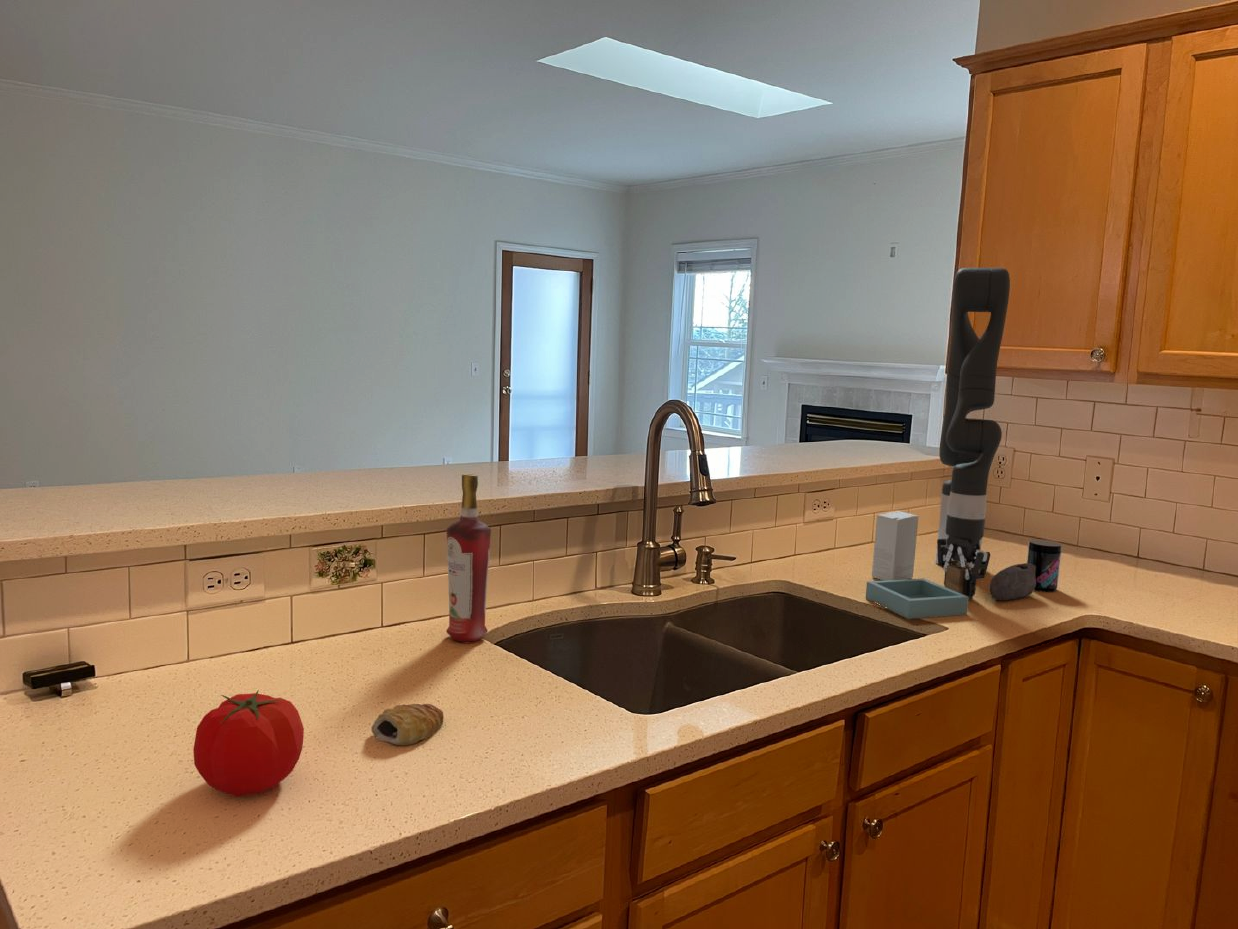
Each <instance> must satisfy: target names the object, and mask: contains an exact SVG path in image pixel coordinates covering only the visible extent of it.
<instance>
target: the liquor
mask: <svg viewBox="0 0 1238 929" xmlns="http://www.w3.org/2000/svg"><path fill="white" fill-rule="evenodd" d="M478 486H479V475H478V474H477V473H464V474H461V489H462V490H461V491H462V495H461V496H462V498H461V506H460V516H459V520H458V521H455V522H453V523H452V524H450V525H449V526H448V527H447V528H446V556H447V560H446V561H447V576H448V578H447V581H448V616H449V617H448V621H449V622H448V627H447V629H446V634H448V635H449V637H451V638H452V639H453V640H454V641H455V640H456V642H458V641H459V642H458V643H463V642H470V643H474V642H475V641H476V642H478V641H480V640H481V639H482V638H483V637H484V636H485V635H486V634H487V633H488V628H487V626H486V613H487V612H486V608H487V607H486V606H487V593H488V592H487V590H488V588H487V587H488V579H489V578H488V577H489V576H488V575H489V568H490V567H489V564H490V552H491V550H490V549H491V538H492V537H491V536H492V535H491V534H492V533H491V532H492V528H490V527H489V525H487V524H486V523H484V522H482V521H480V520H479V518H478V517H479V515H478V514H479V513H478V502H477V501H478V500H477V491H478Z"/></svg>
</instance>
